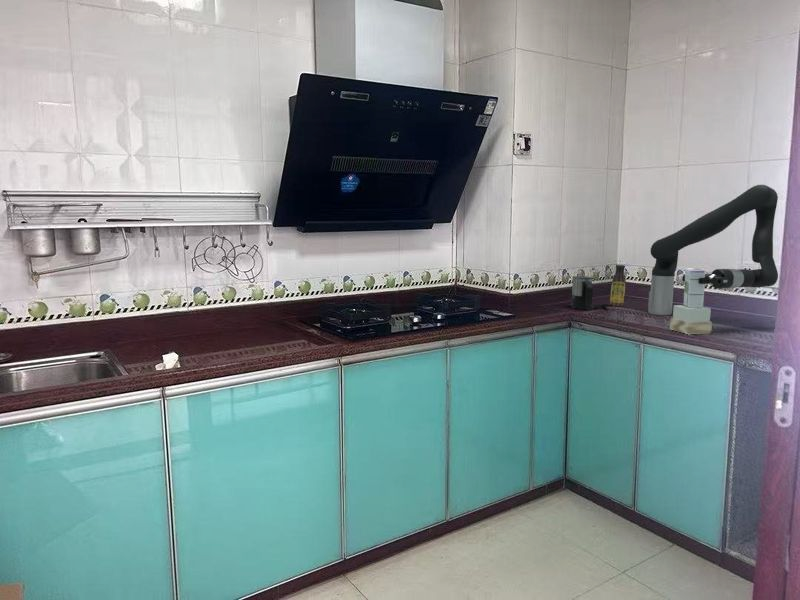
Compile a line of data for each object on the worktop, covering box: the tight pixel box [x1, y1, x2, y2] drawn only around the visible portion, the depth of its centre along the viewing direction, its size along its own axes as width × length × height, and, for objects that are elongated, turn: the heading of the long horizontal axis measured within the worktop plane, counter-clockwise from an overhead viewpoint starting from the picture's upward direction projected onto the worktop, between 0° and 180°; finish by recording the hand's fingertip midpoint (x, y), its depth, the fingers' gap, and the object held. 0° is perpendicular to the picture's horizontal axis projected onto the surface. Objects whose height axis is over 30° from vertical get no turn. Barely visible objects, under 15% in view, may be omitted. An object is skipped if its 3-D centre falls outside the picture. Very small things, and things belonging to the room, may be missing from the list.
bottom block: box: [669, 317, 713, 336], centre depth 227 cm, size 10×10×5 cm
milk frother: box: [570, 275, 611, 310], centre depth 279 cm, size 14×16×15 cm
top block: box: [672, 304, 712, 323], centre depth 226 cm, size 9×9×5 cm
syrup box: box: [682, 267, 706, 308], centre depth 225 cm, size 6×6×14 cm
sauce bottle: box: [609, 264, 627, 307], centre depth 287 cm, size 7×6×20 cm
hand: (690, 279), depth 224 cm, fingers open, 8 cm apart
